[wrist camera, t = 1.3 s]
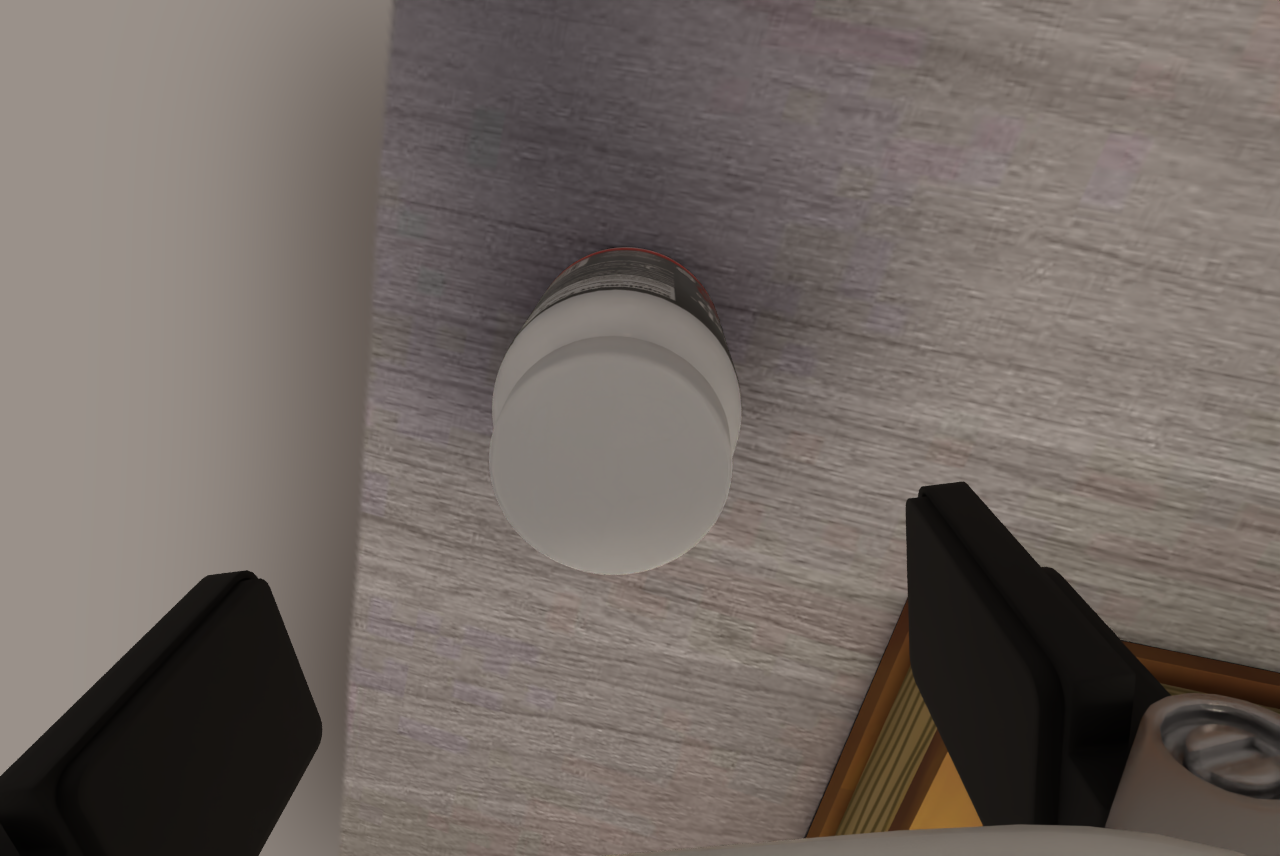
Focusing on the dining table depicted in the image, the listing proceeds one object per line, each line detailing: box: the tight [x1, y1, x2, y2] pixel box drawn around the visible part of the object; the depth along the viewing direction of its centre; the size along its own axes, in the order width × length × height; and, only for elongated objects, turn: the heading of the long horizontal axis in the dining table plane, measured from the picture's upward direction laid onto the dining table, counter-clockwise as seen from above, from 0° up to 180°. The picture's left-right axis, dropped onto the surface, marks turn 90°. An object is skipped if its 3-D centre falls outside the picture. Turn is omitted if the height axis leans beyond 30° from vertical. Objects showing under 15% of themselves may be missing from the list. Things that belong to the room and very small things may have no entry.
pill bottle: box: [489, 247, 742, 575], centre depth 19 cm, size 6×6×10 cm
